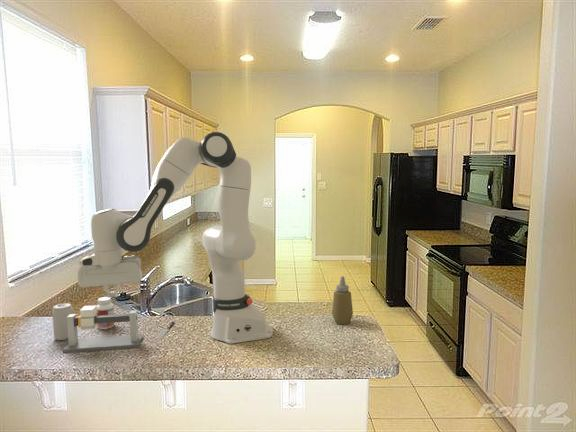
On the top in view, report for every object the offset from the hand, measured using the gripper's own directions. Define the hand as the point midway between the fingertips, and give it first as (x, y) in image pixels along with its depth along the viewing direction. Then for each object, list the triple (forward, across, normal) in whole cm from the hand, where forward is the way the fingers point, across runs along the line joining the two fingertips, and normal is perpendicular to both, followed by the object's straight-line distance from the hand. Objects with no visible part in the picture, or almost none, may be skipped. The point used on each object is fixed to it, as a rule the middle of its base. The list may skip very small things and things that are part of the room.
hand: (112, 296), depth 148 cm
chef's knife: (+18, -14, -8) cm, 24 cm away
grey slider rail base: (+16, +4, 0) cm, 17 cm away
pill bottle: (+17, +8, -18) cm, 26 cm away
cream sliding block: (+10, +8, 0) cm, 13 cm away
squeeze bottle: (+20, -82, -6) cm, 84 cm away
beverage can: (+16, +20, -9) cm, 27 cm away
